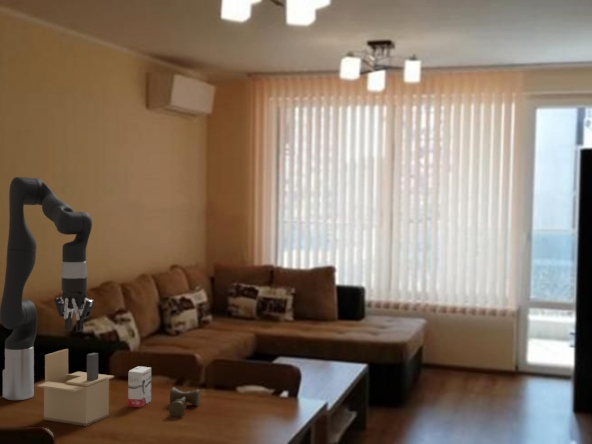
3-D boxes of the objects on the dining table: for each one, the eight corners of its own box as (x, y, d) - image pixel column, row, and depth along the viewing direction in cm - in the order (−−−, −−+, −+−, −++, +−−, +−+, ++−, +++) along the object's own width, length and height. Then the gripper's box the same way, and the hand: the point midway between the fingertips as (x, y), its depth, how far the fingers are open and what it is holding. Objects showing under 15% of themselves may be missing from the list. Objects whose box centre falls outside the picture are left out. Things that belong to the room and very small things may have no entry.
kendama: (160, 418, 230) (175, 399, 250) (190, 420, 229) (202, 400, 249) (161, 399, 229) (175, 382, 249) (191, 401, 229) (203, 383, 249)
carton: (34, 423, 221) (34, 357, 221) (75, 406, 239) (75, 346, 238) (77, 430, 215) (77, 362, 215) (116, 412, 233) (116, 350, 232)
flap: (65, 383, 222) (66, 355, 222) (87, 376, 231) (87, 349, 231) (87, 386, 219) (87, 357, 219) (107, 378, 228) (108, 351, 228)
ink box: (141, 408, 239) (141, 372, 238) (127, 407, 240) (127, 371, 239) (151, 401, 247) (151, 366, 247) (138, 400, 248) (138, 365, 248)
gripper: (47, 276, 225) (47, 331, 226) (85, 278, 220) (84, 335, 221) (64, 273, 232) (64, 327, 233) (100, 276, 227) (100, 331, 228)
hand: (74, 330), depth 227 cm, fingers open, 3 cm apart
